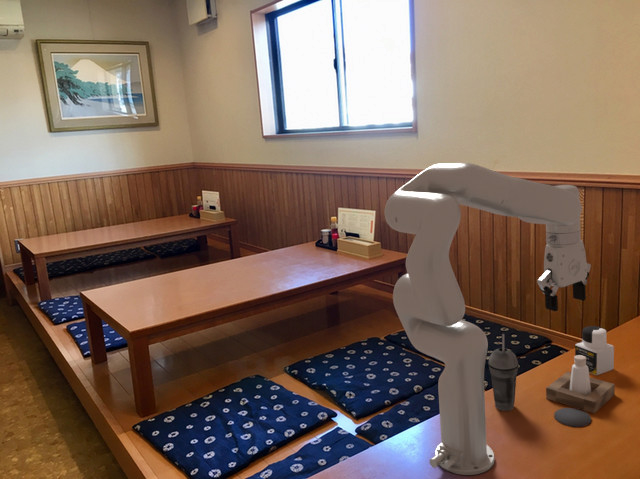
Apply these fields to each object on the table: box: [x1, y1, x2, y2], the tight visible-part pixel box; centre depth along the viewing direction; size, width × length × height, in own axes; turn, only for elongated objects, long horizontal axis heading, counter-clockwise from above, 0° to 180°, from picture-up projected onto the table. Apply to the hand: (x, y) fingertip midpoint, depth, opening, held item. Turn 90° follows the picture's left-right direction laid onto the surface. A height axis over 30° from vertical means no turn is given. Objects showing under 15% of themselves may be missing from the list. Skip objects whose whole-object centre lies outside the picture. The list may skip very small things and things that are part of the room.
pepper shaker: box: [569, 355, 591, 395], centre depth 139 cm, size 5×5×11 cm
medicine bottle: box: [574, 325, 615, 376], centre depth 154 cm, size 7×7×12 cm
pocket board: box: [545, 371, 616, 414], centre depth 140 cm, size 12×12×3 cm
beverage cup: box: [487, 333, 520, 412], centre depth 137 cm, size 7×7×20 cm
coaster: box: [554, 407, 592, 428], centre depth 131 cm, size 8×8×1 cm
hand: (565, 304), depth 135 cm, fingers open, 9 cm apart
